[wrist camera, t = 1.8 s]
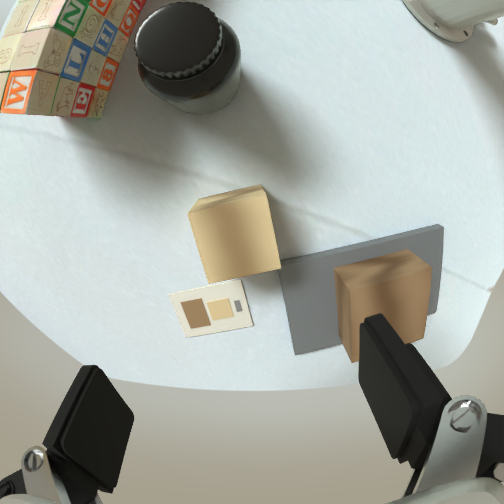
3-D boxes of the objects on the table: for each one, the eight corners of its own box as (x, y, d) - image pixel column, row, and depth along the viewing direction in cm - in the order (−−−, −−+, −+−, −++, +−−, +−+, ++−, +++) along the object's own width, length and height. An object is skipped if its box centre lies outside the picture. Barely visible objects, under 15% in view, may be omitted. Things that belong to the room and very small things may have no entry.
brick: (407, 248, 28) (432, 267, 23) (404, 314, 31) (423, 338, 26) (333, 267, 28) (350, 291, 23) (338, 335, 31) (351, 363, 27)
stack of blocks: (126, -43, 15) (88, -95, 3) (174, -44, 16) (150, -108, 4) (57, 115, 22) (-24, 113, 10) (101, 121, 23) (22, 115, 11)
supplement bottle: (228, 40, 21) (221, -25, 10) (249, 102, 23) (257, 67, 12) (159, 63, 21) (107, 17, 10) (178, 125, 24) (131, 111, 12)
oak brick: (260, 184, 26) (266, 195, 20) (272, 243, 28) (281, 268, 23) (198, 198, 26) (187, 213, 21) (214, 256, 28) (208, 283, 23)
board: (437, 224, 28) (443, 226, 27) (431, 307, 32) (436, 311, 31) (276, 261, 29) (278, 266, 28) (293, 349, 33) (295, 355, 32)
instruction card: (240, 278, 29) (240, 280, 29) (252, 324, 32) (253, 326, 31) (168, 293, 30) (168, 294, 29) (186, 336, 32) (186, 337, 32)
